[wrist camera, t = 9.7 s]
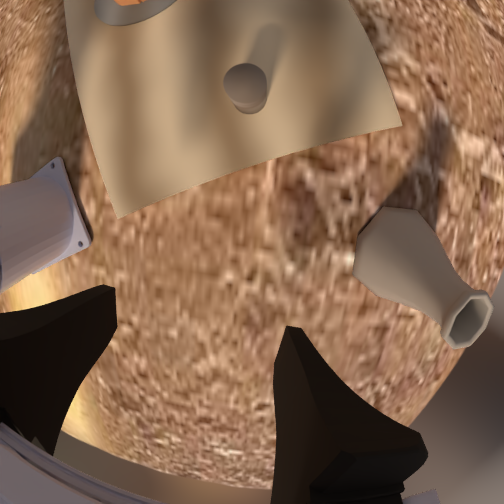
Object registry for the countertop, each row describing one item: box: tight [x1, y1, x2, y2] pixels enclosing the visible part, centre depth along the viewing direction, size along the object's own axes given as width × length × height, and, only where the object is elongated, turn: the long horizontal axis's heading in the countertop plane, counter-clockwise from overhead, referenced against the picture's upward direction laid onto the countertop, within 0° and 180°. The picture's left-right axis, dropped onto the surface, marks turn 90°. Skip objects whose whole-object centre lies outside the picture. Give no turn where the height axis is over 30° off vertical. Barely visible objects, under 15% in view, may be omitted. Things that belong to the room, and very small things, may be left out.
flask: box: [352, 206, 494, 349], centre depth 14 cm, size 7×7×10 cm
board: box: [64, 0, 402, 219], centre depth 12 cm, size 20×22×6 cm
